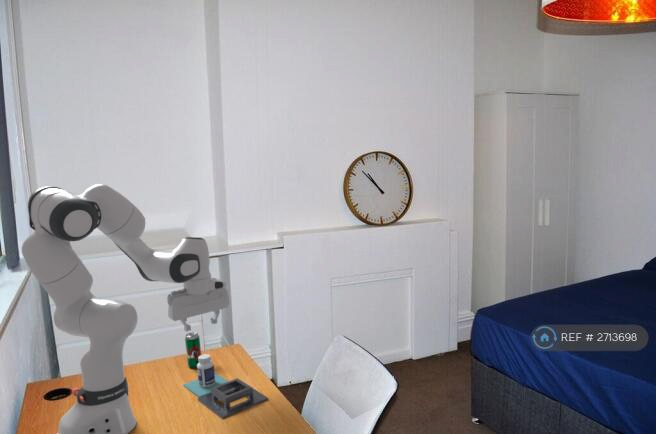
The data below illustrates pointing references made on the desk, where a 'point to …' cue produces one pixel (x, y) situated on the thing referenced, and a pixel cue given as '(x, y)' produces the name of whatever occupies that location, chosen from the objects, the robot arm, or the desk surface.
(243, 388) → the square frame
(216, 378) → the mat
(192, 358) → the soda can
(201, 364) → the pill bottle
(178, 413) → the desk surface
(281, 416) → the desk surface
